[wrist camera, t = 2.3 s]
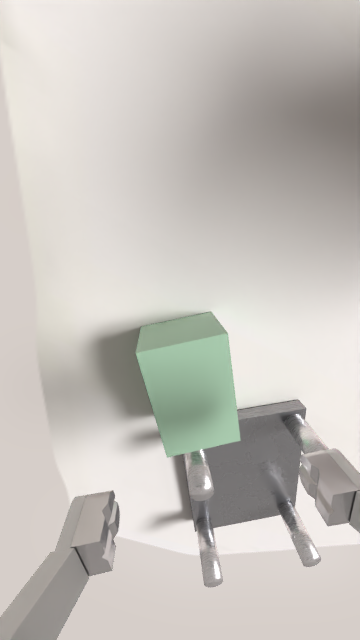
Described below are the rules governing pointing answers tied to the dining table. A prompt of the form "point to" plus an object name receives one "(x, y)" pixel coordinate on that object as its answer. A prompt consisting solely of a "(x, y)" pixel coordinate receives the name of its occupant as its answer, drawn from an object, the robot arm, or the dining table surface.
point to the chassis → (252, 479)
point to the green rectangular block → (189, 382)
